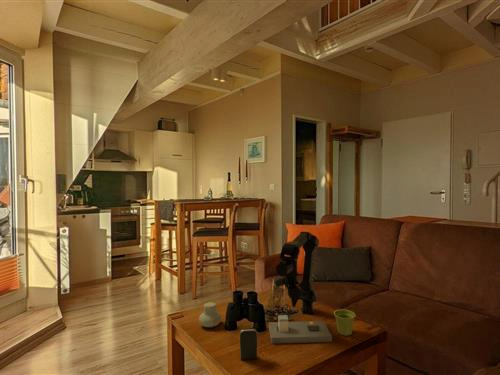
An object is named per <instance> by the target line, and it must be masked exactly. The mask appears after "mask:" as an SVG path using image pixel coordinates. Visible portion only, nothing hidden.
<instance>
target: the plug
mask: <svg viewBox="0 0 500 375" xmlns="http://www.w3.org/2000/svg"><path fill="white" fill-rule="evenodd" d="M277 318H278V321H277V322H278V331H279V332H288V322H289V318H288V315H287V314H283V315H282V314H279V315H277ZM279 332H278V333H279Z"/></svg>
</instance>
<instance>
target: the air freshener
mask: <svg viewBox="0 0 500 375" xmlns="http://www.w3.org/2000/svg"><path fill="white" fill-rule="evenodd" d="M222 318H223V317H222V315H221V313H220V312H219V311H217V304H216V303H215V302H214V301H213V302H212V301H209V302H205V303H204V305H203V311H202V313H201V314H200V315H199V317H198V322H199V324H200V325H201V326H202V327H205V328H215V327H216V326H218V325H219V324H220V322H221V321H222ZM214 326H215V327H214Z"/></svg>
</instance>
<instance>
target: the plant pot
mask: <svg viewBox="0 0 500 375" xmlns="http://www.w3.org/2000/svg"><path fill="white" fill-rule="evenodd" d="M333 315H334V318H335V321H336V328H337V329H336V330H337V333H339V335H341V336H346V337H347V336H351V335H352V334H353V327H354V320H355V318H356V314H355V312H354V311H351V310H350V309H349V310H348V309H336V310H335V311H333Z"/></svg>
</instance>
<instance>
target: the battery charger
mask: <svg viewBox="0 0 500 375" xmlns="http://www.w3.org/2000/svg"><path fill="white" fill-rule="evenodd" d="M239 356H240V357H239V359H240V360H241V361H242V360H244V361H245V360H250V361H251V360H257V359H258V332H257V329H256V328H254V327H243V328H241V329H240V331H239Z"/></svg>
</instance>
